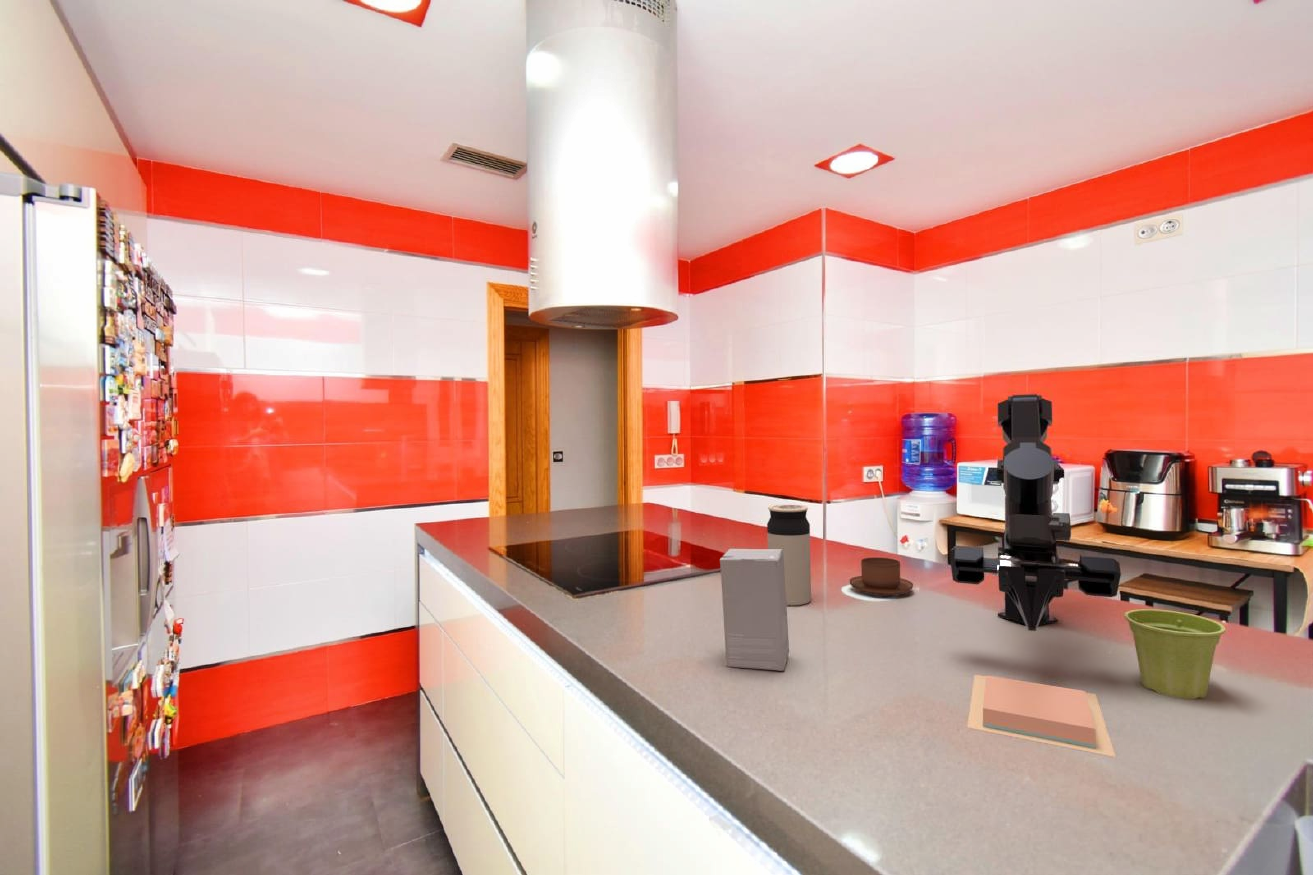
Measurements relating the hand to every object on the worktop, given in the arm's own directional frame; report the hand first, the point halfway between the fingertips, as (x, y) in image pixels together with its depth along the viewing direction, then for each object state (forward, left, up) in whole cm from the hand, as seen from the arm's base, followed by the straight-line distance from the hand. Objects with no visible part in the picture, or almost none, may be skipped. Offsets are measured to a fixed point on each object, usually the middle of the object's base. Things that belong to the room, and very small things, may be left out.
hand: (1032, 629), depth 76 cm
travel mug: (+4, -46, -8) cm, 47 cm away
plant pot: (-15, +7, -8) cm, 18 cm away
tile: (+3, +2, -6) cm, 7 cm away
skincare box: (+26, -22, -8) cm, 35 cm away
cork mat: (+5, +4, -8) cm, 10 cm away
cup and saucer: (-16, -44, -8) cm, 48 cm away
